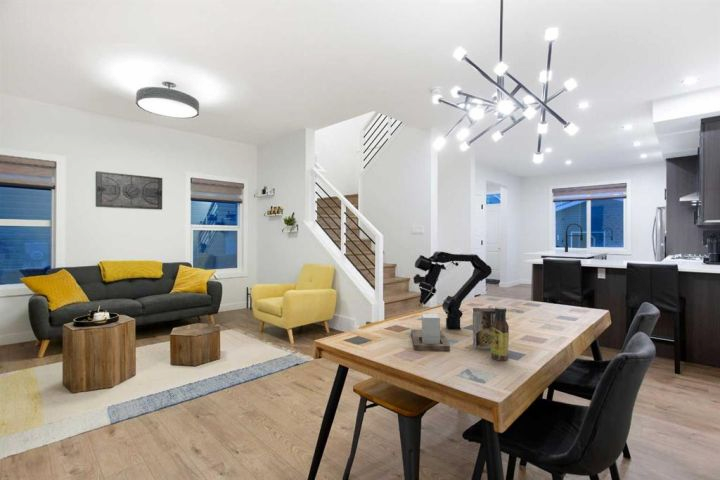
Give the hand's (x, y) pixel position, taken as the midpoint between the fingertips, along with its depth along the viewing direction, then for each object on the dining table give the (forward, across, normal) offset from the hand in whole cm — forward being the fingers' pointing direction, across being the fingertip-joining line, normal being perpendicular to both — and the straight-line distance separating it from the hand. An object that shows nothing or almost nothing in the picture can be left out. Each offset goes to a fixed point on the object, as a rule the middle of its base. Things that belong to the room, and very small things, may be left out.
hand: (422, 303), depth 179 cm
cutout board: (+14, +15, +11) cm, 23 cm away
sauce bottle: (+8, +26, +40) cm, 48 cm away
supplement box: (+15, +18, +13) cm, 27 cm away
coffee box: (+7, +14, +34) cm, 37 cm away
